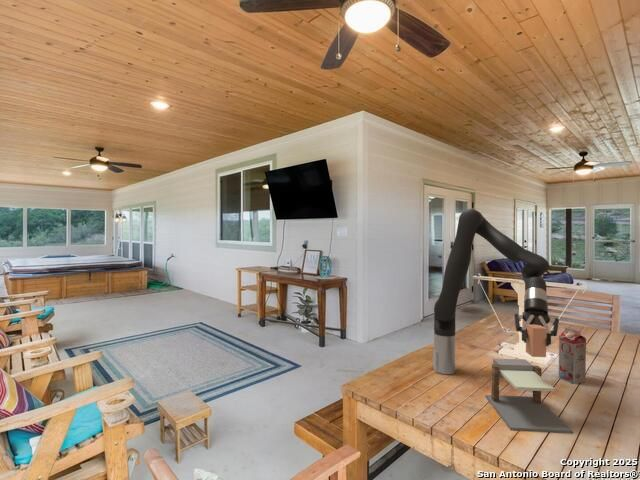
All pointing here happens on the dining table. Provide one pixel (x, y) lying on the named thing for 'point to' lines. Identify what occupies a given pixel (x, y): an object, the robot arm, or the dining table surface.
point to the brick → (536, 340)
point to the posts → (496, 384)
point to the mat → (528, 415)
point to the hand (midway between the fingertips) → (536, 343)
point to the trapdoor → (521, 375)
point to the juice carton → (572, 356)
